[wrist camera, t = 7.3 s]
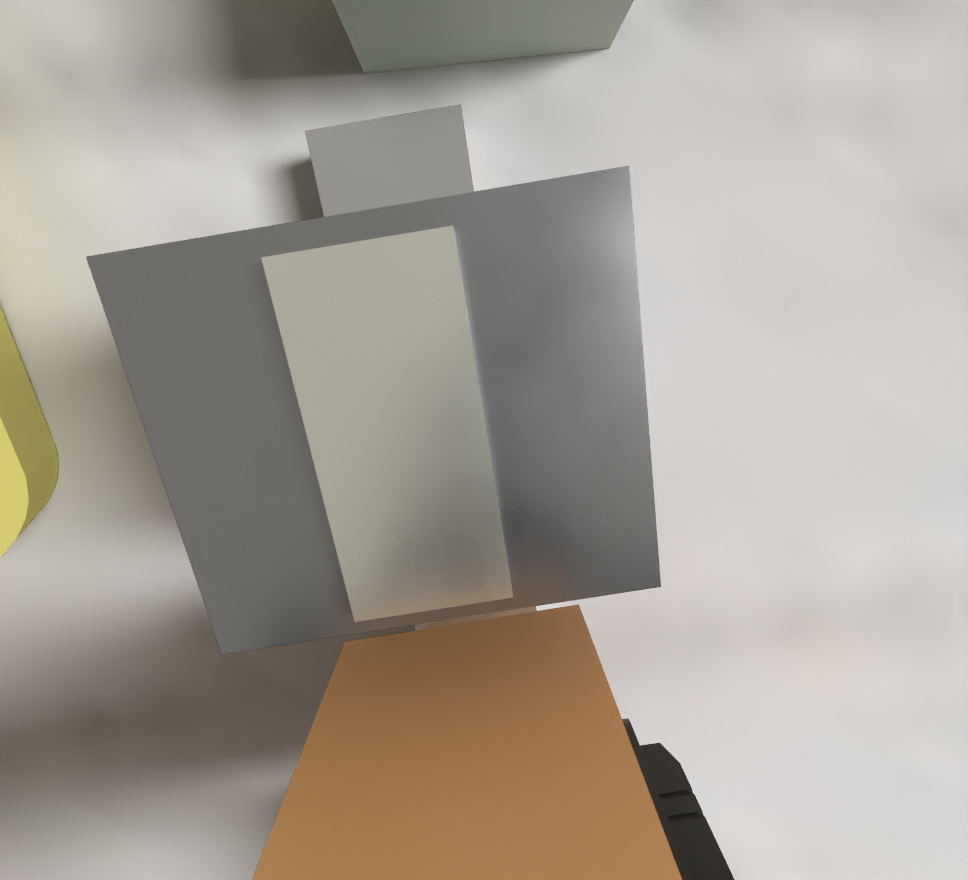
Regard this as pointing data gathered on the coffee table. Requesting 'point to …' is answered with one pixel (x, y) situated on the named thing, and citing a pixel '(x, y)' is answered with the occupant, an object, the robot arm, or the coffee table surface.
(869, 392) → the coffee table surface
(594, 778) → the orange module
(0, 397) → the plastic component
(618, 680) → the coffee table surface
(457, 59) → the green block
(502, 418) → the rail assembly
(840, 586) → the coffee table surface
